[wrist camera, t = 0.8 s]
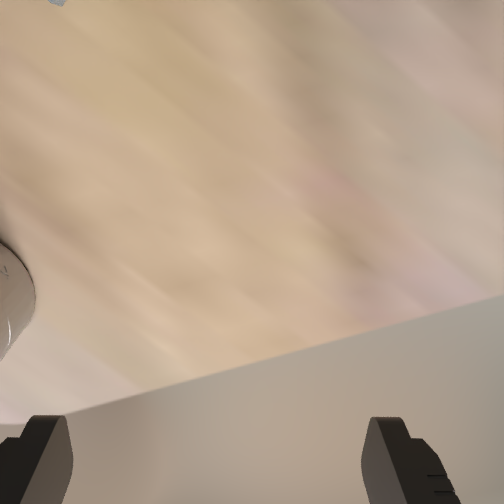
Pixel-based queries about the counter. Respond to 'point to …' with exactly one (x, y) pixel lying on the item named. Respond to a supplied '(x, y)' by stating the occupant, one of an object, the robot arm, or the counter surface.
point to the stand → (57, 2)
